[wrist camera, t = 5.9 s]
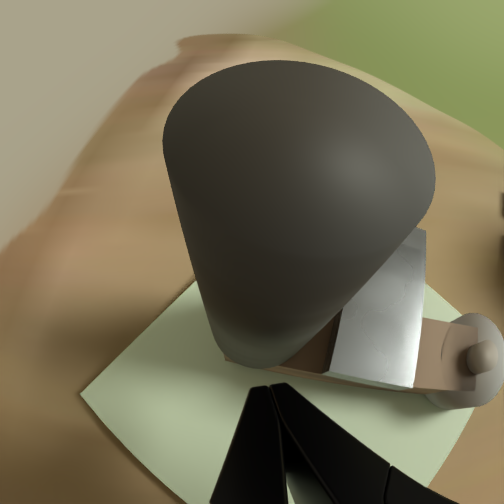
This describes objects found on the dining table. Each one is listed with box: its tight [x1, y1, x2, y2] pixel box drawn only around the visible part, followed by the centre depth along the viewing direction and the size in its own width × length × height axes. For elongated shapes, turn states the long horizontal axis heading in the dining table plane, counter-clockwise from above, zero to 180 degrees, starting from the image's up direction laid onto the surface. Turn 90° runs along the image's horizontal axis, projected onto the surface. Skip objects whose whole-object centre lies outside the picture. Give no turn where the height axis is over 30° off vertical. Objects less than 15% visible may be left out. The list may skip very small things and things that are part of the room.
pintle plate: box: [80, 281, 475, 504], centre depth 13 cm, size 16×15×1 cm
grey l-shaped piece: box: [162, 60, 504, 410], centre depth 8 cm, size 14×4×11 cm, turn 77°
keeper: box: [321, 227, 426, 391], centre depth 13 cm, size 3×6×5 cm, turn 163°
